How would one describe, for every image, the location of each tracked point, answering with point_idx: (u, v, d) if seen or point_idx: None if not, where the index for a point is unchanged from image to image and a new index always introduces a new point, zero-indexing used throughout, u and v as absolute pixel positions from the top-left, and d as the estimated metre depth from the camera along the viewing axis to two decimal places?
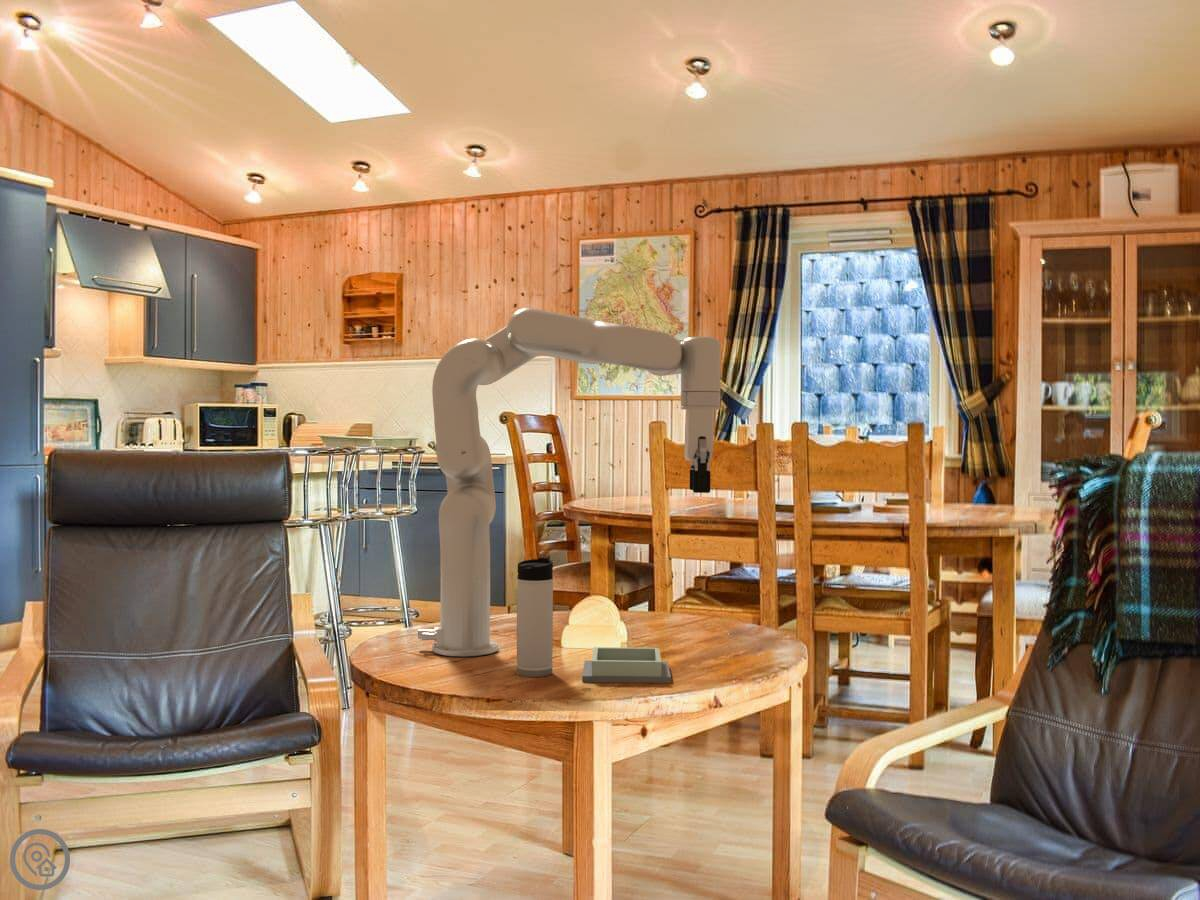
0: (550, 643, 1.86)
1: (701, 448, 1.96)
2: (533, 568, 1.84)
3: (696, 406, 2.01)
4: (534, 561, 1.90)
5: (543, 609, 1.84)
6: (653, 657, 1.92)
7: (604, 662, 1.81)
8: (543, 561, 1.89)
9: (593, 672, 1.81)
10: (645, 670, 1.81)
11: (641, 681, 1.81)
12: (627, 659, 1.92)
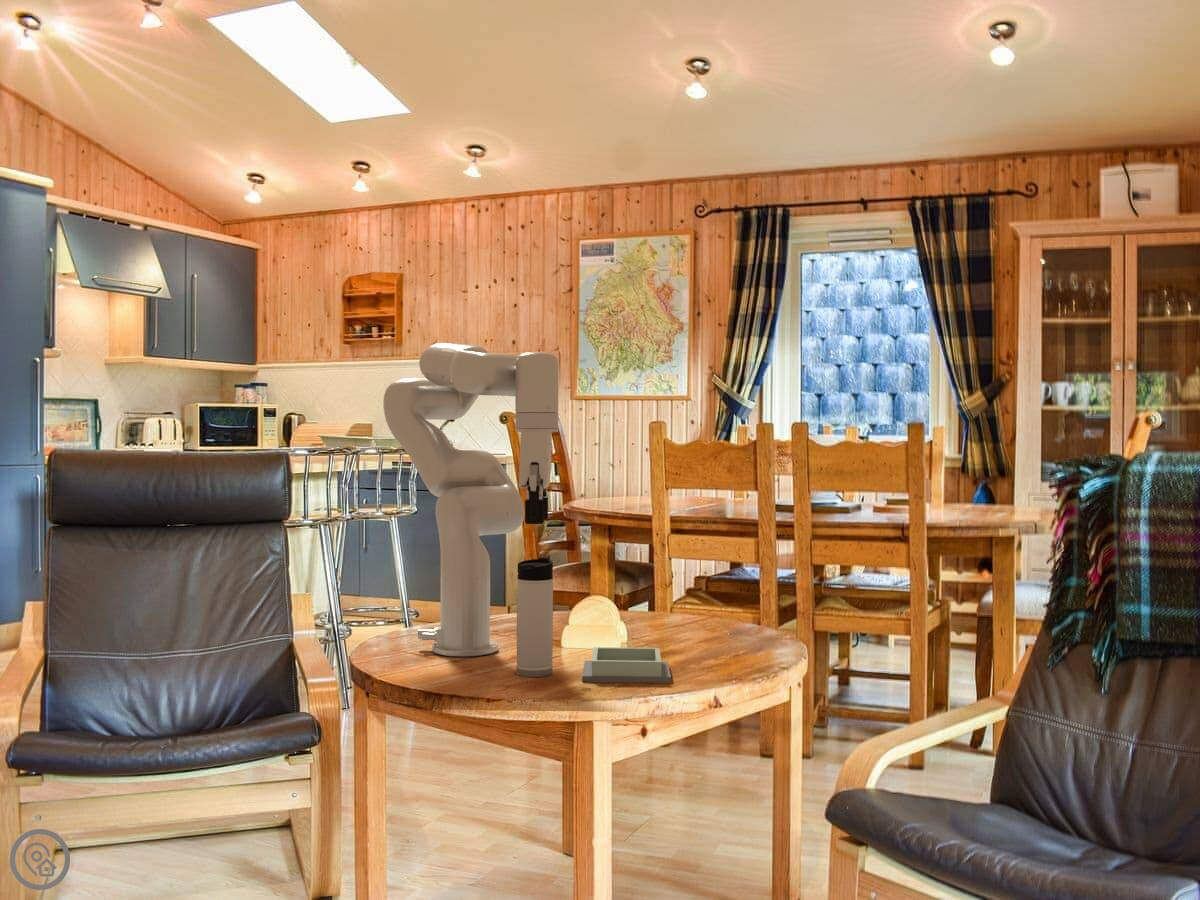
0: (550, 643, 1.86)
1: (530, 475, 1.78)
2: (533, 568, 1.84)
3: (529, 429, 1.83)
4: (534, 561, 1.90)
5: (543, 609, 1.84)
6: (653, 657, 1.92)
7: (604, 662, 1.81)
8: (543, 561, 1.89)
9: (593, 672, 1.81)
10: (645, 670, 1.81)
11: (641, 681, 1.81)
12: (627, 659, 1.92)
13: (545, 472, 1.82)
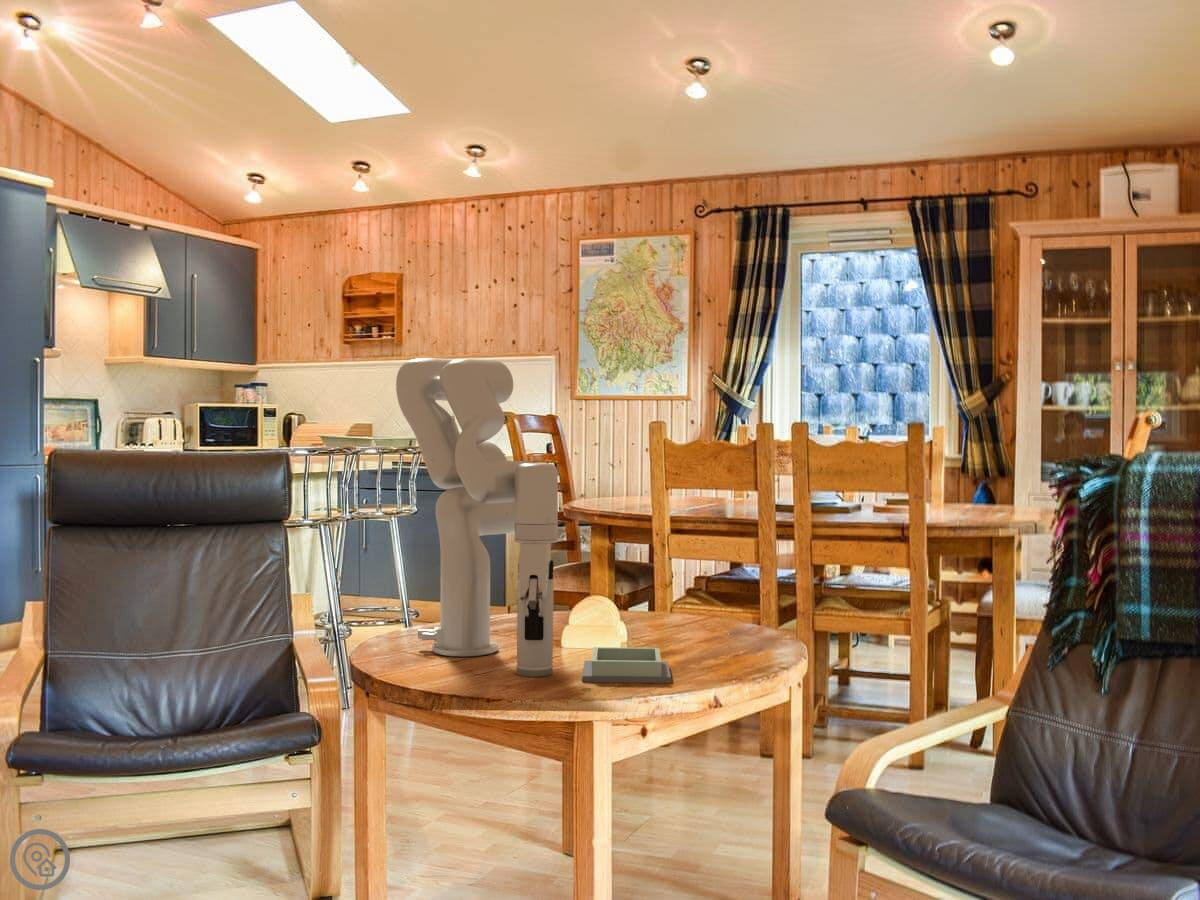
0: (550, 643, 1.86)
1: (529, 598, 1.79)
2: None
3: (528, 541, 1.83)
4: None
5: (543, 608, 1.84)
6: (653, 657, 1.92)
7: (604, 662, 1.81)
8: None
9: (593, 672, 1.81)
10: (645, 670, 1.81)
11: (641, 681, 1.81)
12: (627, 659, 1.92)
13: (544, 585, 1.82)
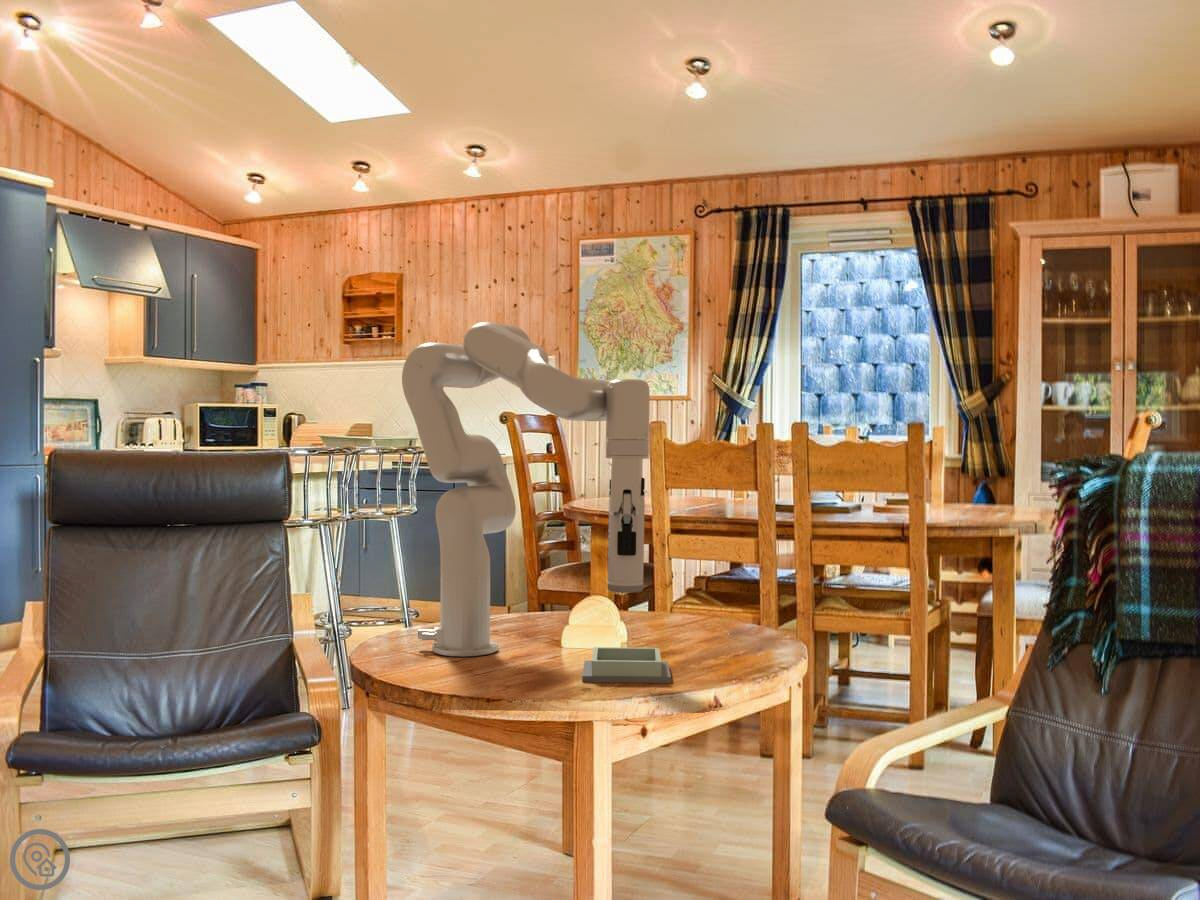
0: (642, 559, 1.86)
1: (624, 511, 1.79)
2: None
3: (621, 456, 1.83)
4: None
5: (635, 524, 1.84)
6: (653, 657, 1.92)
7: (604, 662, 1.81)
8: None
9: (593, 672, 1.81)
10: (645, 670, 1.81)
11: (641, 681, 1.81)
12: (627, 659, 1.92)
13: (638, 499, 1.82)
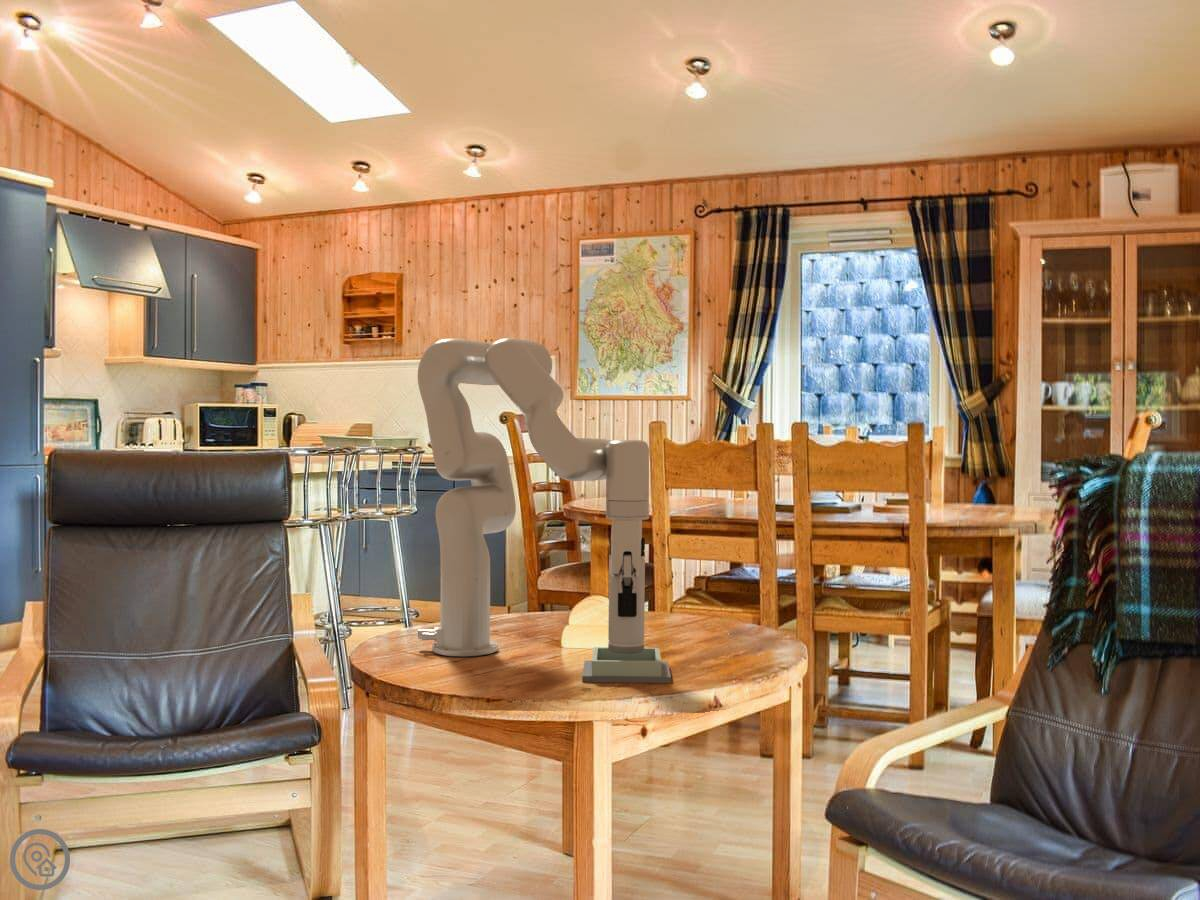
0: (642, 620, 1.86)
1: (625, 574, 1.79)
2: None
3: (621, 517, 1.83)
4: None
5: (636, 585, 1.84)
6: (653, 657, 1.92)
7: (604, 662, 1.81)
8: None
9: (593, 672, 1.81)
10: (645, 670, 1.81)
11: (641, 681, 1.81)
12: (627, 659, 1.92)
13: (638, 561, 1.82)
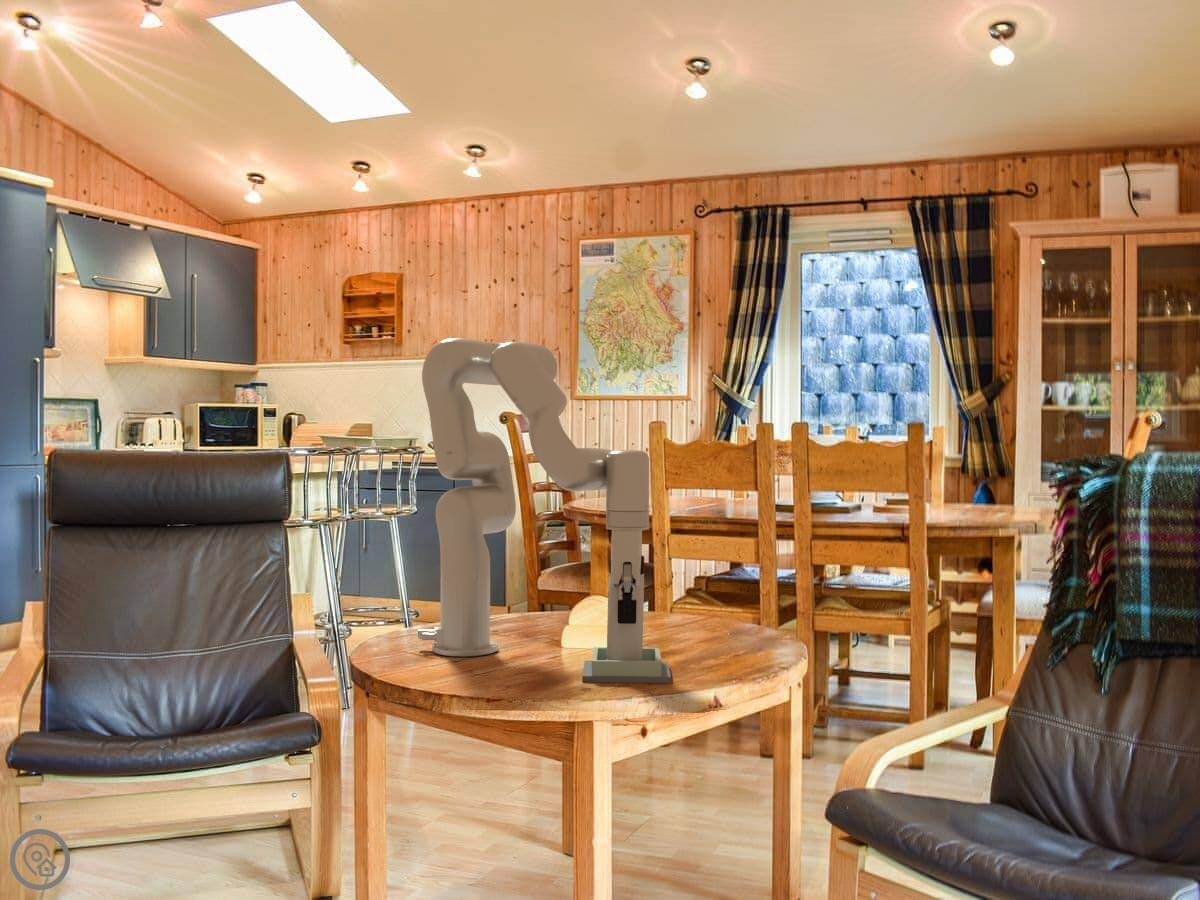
0: (641, 638, 1.86)
1: (625, 577, 1.78)
2: None
3: (621, 528, 1.83)
4: None
5: None
6: (653, 657, 1.92)
7: (604, 662, 1.81)
8: None
9: (593, 672, 1.81)
10: (645, 670, 1.81)
11: (641, 681, 1.81)
12: None
13: (638, 572, 1.82)
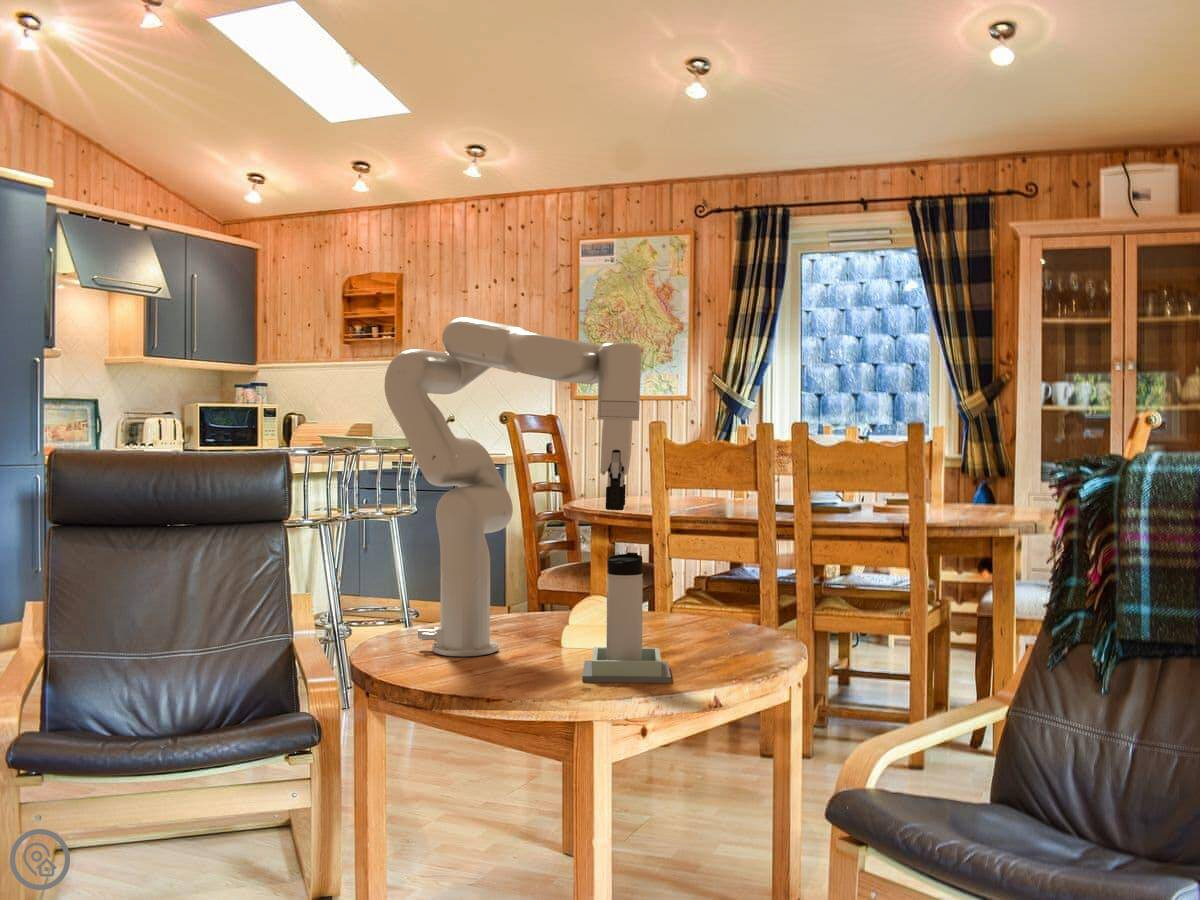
0: (640, 638, 1.86)
1: (613, 463, 1.83)
2: (624, 563, 1.84)
3: (611, 417, 1.88)
4: (622, 556, 1.90)
5: (634, 603, 1.84)
6: (653, 657, 1.92)
7: (604, 662, 1.81)
8: (632, 556, 1.89)
9: (593, 672, 1.81)
10: (645, 670, 1.81)
11: (641, 681, 1.81)
12: None
13: (626, 460, 1.86)
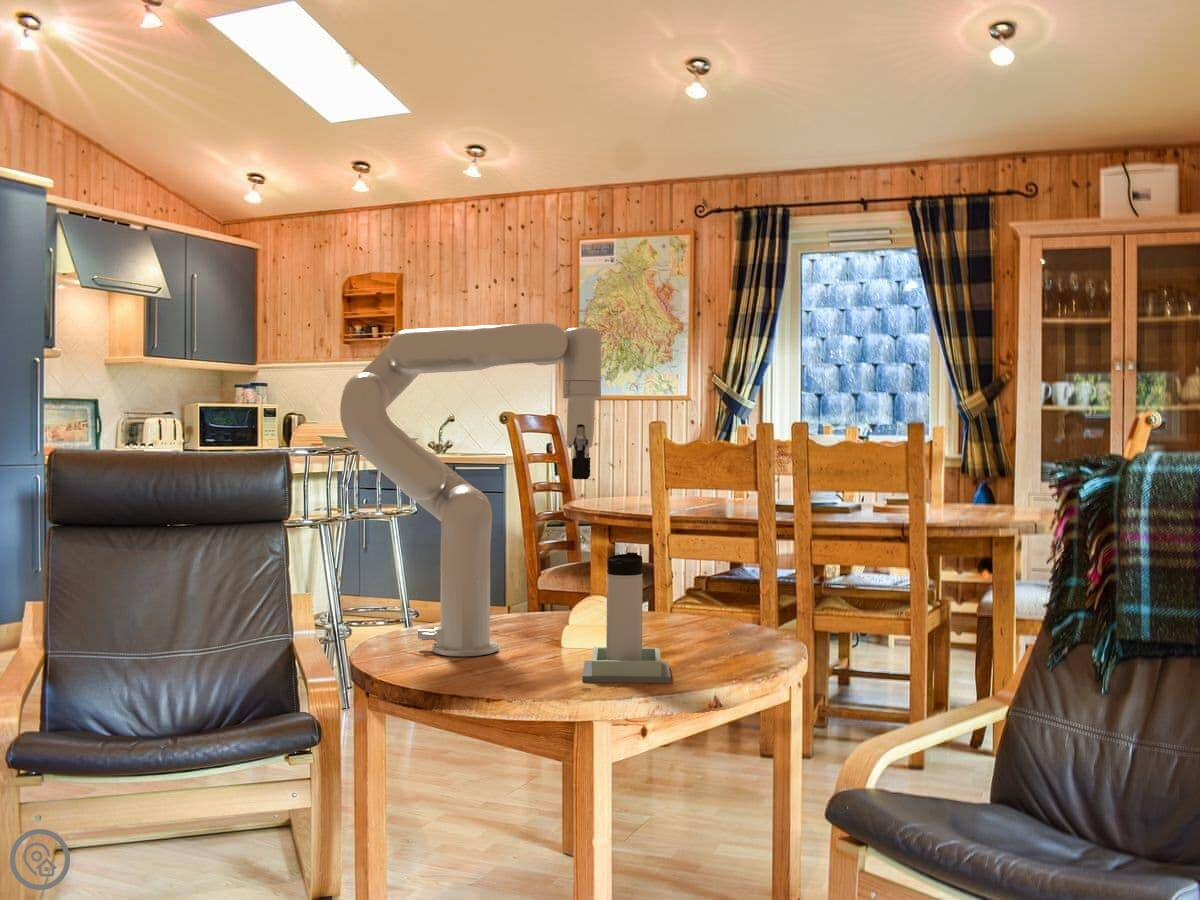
0: (640, 638, 1.86)
1: (577, 436, 2.02)
2: (624, 563, 1.84)
3: (575, 395, 2.06)
4: (622, 556, 1.90)
5: (633, 603, 1.84)
6: (653, 657, 1.92)
7: (604, 662, 1.81)
8: (632, 556, 1.89)
9: (593, 672, 1.81)
10: (645, 670, 1.81)
11: (641, 681, 1.81)
12: None
13: (590, 433, 2.05)
